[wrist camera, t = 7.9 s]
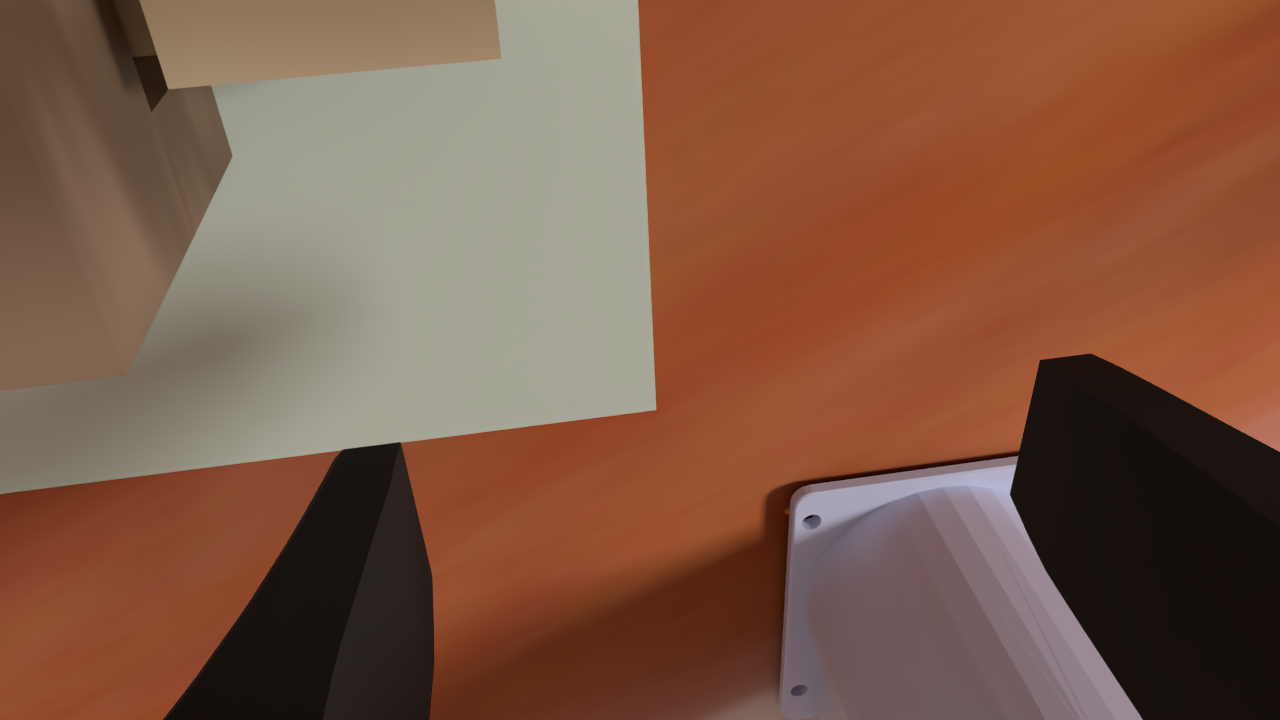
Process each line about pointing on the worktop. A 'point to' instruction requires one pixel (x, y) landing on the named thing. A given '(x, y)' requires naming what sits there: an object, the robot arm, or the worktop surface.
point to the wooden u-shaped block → (304, 36)
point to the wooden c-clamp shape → (92, 190)
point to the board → (390, 266)
